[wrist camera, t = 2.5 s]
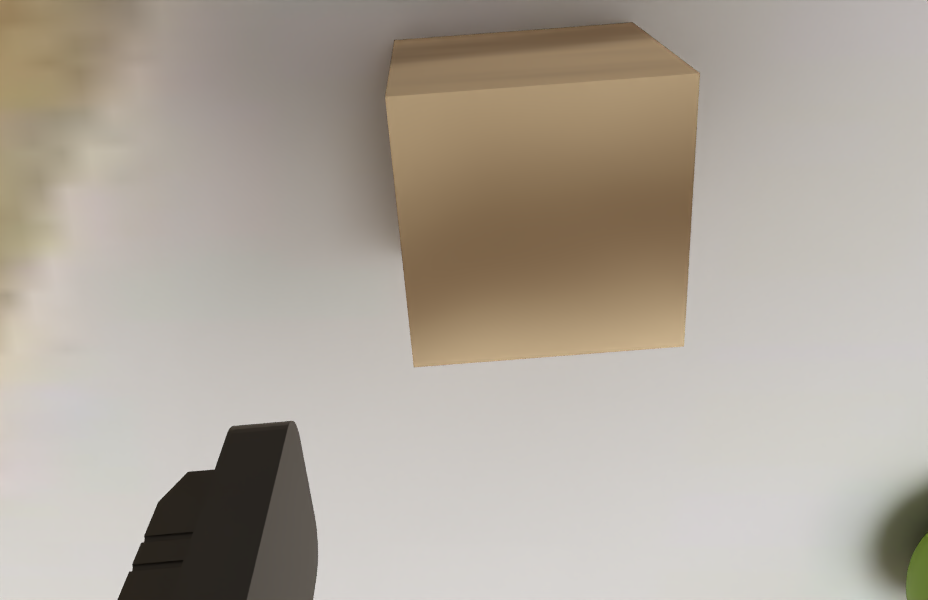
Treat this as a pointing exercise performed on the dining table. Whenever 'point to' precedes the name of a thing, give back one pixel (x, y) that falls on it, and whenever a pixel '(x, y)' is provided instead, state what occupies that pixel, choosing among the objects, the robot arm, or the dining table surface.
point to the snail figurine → (918, 572)
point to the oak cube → (542, 191)
